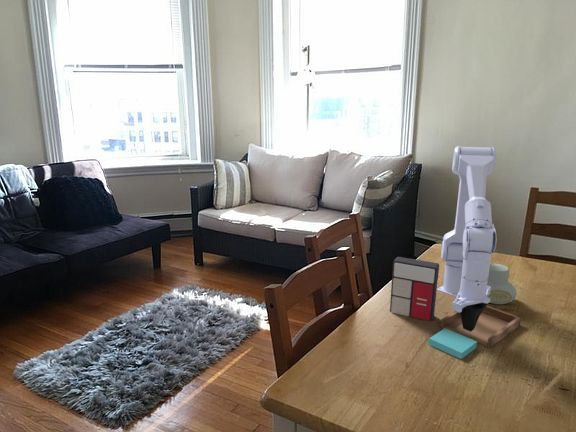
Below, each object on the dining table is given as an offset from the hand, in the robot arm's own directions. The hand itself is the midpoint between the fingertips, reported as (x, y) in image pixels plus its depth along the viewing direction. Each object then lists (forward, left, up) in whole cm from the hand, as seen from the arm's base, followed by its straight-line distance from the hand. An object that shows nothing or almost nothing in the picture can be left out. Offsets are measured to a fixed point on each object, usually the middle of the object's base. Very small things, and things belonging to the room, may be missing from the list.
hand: (468, 329), depth 107 cm
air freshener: (-24, -5, -2) cm, 25 cm away
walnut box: (-6, 0, -2) cm, 7 cm away
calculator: (+1, -15, -2) cm, 15 cm away
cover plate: (+8, 0, -2) cm, 8 cm away
